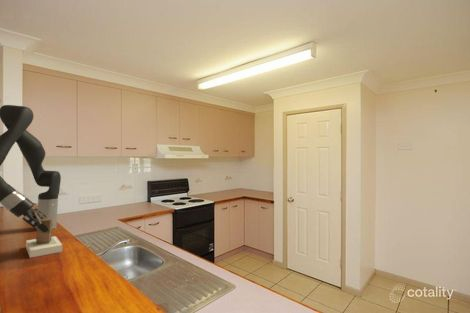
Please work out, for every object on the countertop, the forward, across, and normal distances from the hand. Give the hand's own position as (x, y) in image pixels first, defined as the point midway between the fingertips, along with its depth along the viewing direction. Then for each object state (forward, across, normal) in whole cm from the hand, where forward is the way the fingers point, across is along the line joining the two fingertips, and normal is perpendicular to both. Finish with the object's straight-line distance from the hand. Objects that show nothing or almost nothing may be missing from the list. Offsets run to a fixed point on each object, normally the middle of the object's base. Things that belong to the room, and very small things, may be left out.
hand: (49, 228), depth 112 cm
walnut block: (+3, 0, +5) cm, 6 cm away
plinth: (+6, 0, +8) cm, 9 cm away
